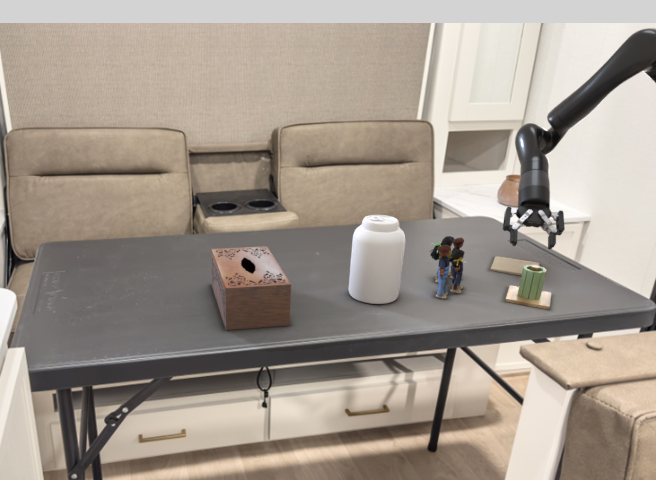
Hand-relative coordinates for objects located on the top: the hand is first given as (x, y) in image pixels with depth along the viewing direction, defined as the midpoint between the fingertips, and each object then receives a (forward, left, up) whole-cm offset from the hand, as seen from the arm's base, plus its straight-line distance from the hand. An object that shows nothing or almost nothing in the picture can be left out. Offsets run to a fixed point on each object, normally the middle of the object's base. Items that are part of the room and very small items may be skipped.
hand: (532, 246), depth 148 cm
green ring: (-2, +7, -11) cm, 13 cm away
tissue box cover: (+58, +44, -12) cm, 74 cm away
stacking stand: (-2, +7, -11) cm, 14 cm away
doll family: (+18, +9, -12) cm, 24 cm away
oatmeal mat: (+3, -15, -11) cm, 19 cm away
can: (+33, +24, -12) cm, 43 cm away
